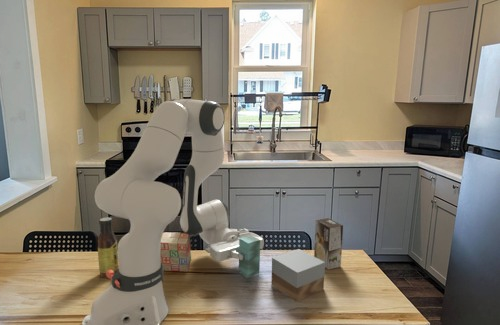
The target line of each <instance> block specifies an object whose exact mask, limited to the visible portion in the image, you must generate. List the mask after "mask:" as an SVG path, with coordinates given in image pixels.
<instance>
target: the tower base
mask: <svg viewBox="0 0 500 325" xmlns="http://www.w3.org/2000/svg"><path fill="white" fill-rule="evenodd" d="M270 281H271V284H270V286H272V287H273V288H275V289H277V290H279V292H281V293H283V294H285V295H287V297H289V298H291V299H293V300H294V301H296V302H297V303H298V302H301V301H303V300H305V299H307V298H309V297H310V296H312V295H314V294H316V293H318V292H320V291H323V290H324V287H325V276H324V277H323V278H320V279H318V280H315V281H313V282H311V283H308V284H306V285H303V286H301V287H298V288H296V287H294V286H293V285H291V284H290V283H288V282H287V281H285V280H284V279H282V278H280V277H279V276H277V275H276V274H274V273H273V272H272V271H271V280H270Z"/></svg>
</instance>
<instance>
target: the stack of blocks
mask: <svg viewBox="0 0 500 325" xmlns="http://www.w3.org/2000/svg"><path fill="white" fill-rule="evenodd" d="M190 236H191V235H189V234H187V233H185V232H180V231H179V232H170V231H169V232H165V231H163V234H162V238H161V263H162V267H163V271H169V272H189V270H190V265H191V262H192V253H191V240H190V239H191V237H190Z"/></svg>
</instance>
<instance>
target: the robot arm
mask: <svg viewBox="0 0 500 325" xmlns="http://www.w3.org/2000/svg"><path fill="white" fill-rule="evenodd" d="M225 119H226V118H225V112H224V109H223V107H222V106H221V105H220V103H218V102H215V101H211V100H199V99H192V98H181V99H175V98H174V99H169V100H166V101H163V102H161V103H160V104H159V105H158V106H157V108H156V109H155V110H154V112H153V113H152V115H151V117H150V118H149V120H148V122H147V124H146V126H145V128H144V130H143V133H142V135H141V137H140V139H139V141H138V143H137V146H136V147H135V148H134V151H133V152H132V154H131V156H130V157H129V158H128V159H127V160H126V162H125V163H124V164H123V165H122V166H121V167H120V168H119V169H117V171H115V173H113V174H112V175H109V177H106V178H104V179H103V180H102V181H100V182H99V183H98V185H97V186H96V189H95V192H94V202H95V204H96V207H97V208H98V209H100V210H101V211H103V212H105V213H106V214H109V215H110V216H113V217H117V218H121V219H127V220H128V221H129V224H130V229H129V232H128V233H126V234H124V235H123V236H122V237H121V238H120V239H119V241H118V242H117V248H118V265H119V268H118V270H117V272H116V273H114V271H113V270H108V271H107V273H106V276H107V277H106V278H108V280H111V284H110V285H109V286H108V287H107V288H105V290H104V291H102V293H100V295H98V296H97V297H96V298H95V299H94V300H93V302H92V304H91V308H90V314H88V315H85V317H83V320H82V322H81V325H161V323H162V322H163V321H164V320H165V319H166V317H167V315H168V313H169V306H168V303H167V300H166V297H165V293H164V288H163V287H164V286H163V282H164V270H163V267H162V263H161V238H162V234H163V233H164V232H165V229H166V228H167V226H168V225H169V224H171V223H173V221H175V219H176V218H177V216H178V215H179V214H180V215H179V216H180V217H179V224H180V228H181V230H182V231H183V232H182V233H187V234H189V236H191V237H196V236H198V235H199V236H200V238H201V239H202V241H204V242H205V243H206V244H208V246H206V247H205V252H207V253H208V254H209V255H210V257H211V258H212V259H213V260H214V261H215V262H219V263H220V262H223V261H227V260H230V259H237V260H239V259H240V260H243V259H245V254H243V253H239V238H243V237H246V236H250V235H252V236H254V237H256V238H258V239H260V250H262V249H263V248H264V246H265V245H264V244H265V241H264V238H263V237H262V236H260V235H258V234H257V233H254V232H252V231H251V232H250V231H249V229H247V228H229V225H230V219H231V218H230V217H231V216H230V214H231V213H230V210H229V209H230V208H228V206H227V205H226V203H224V202H223V201H222V200H220V199H218V198H217V199H212V200H210V201H207V202H204V203H201V204H198V195H199V188H200V186H201V184H202V183H203V182H204V181H206V179H207V178H208V177H209V176H211V175H212V174H214V173H215V172H217V171H218V170H219V169H220V167H221V166H222V165H223V162H224V158H225V151H224V150H225V148H224V138H223V133H222V129H223V127H224V124H225ZM186 134H189V135H191V151H192V152H191V158H190V162H189V164H188V165H187V166H186V168H185V170H184V176H183V186H182V187H183V188H182V198H181V195H180V193H179V191H178V189H176V188H175V187H173V186H171V185H169V184H167V183H164V182H161V181H155V180H156V179H157V178H159V176H161V175H162V174H165V173H166V172H169V171H170V170H172V168H173V167H174V165H175V162H176V160H177V158H178V156H179V152H180V149H181V148H182V147H181V146H182V144H183V141H184V138H185V136H186ZM180 211H181V212H180Z"/></svg>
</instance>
